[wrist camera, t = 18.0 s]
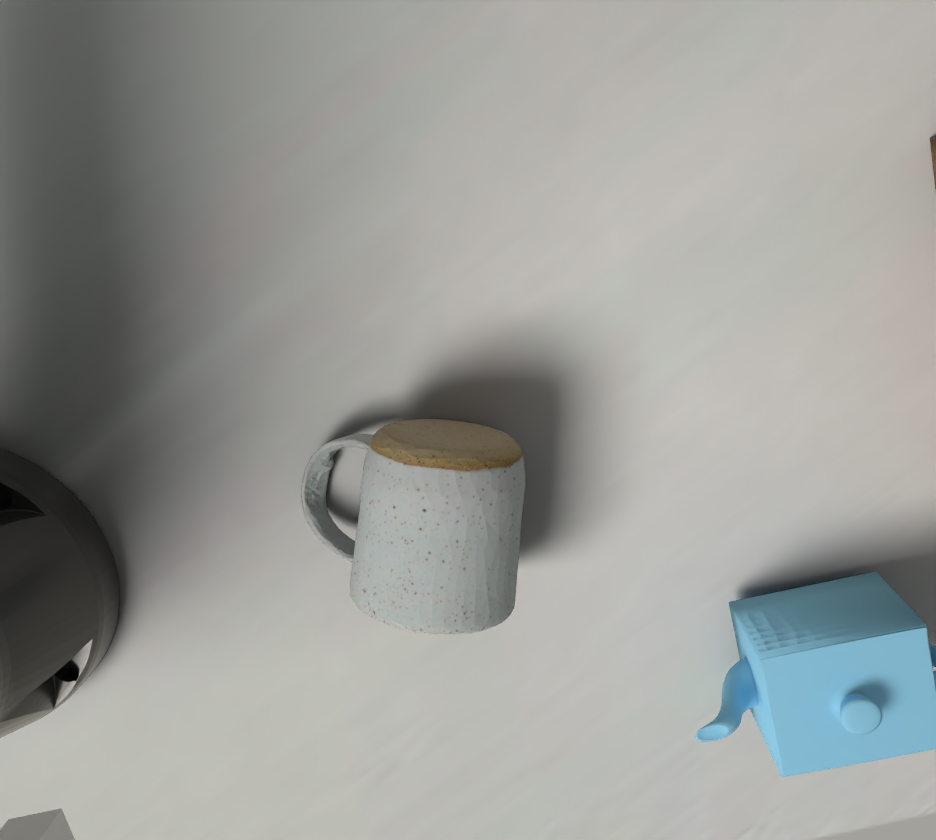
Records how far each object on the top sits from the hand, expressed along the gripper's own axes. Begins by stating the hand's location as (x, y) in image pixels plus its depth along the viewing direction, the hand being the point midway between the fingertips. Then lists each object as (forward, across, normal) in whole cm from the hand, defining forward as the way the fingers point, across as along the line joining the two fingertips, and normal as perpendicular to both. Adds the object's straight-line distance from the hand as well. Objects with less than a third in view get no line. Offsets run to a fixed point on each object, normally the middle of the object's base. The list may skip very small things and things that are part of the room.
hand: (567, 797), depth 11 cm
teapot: (+31, +10, -17) cm, 37 cm away
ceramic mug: (+32, -6, -6) cm, 33 cm away
